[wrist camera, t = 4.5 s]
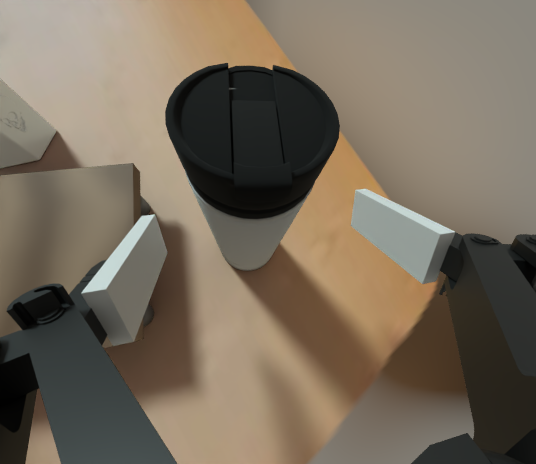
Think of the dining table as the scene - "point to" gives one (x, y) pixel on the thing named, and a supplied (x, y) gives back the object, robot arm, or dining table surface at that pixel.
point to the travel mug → (251, 151)
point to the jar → (21, 130)
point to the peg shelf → (63, 228)
